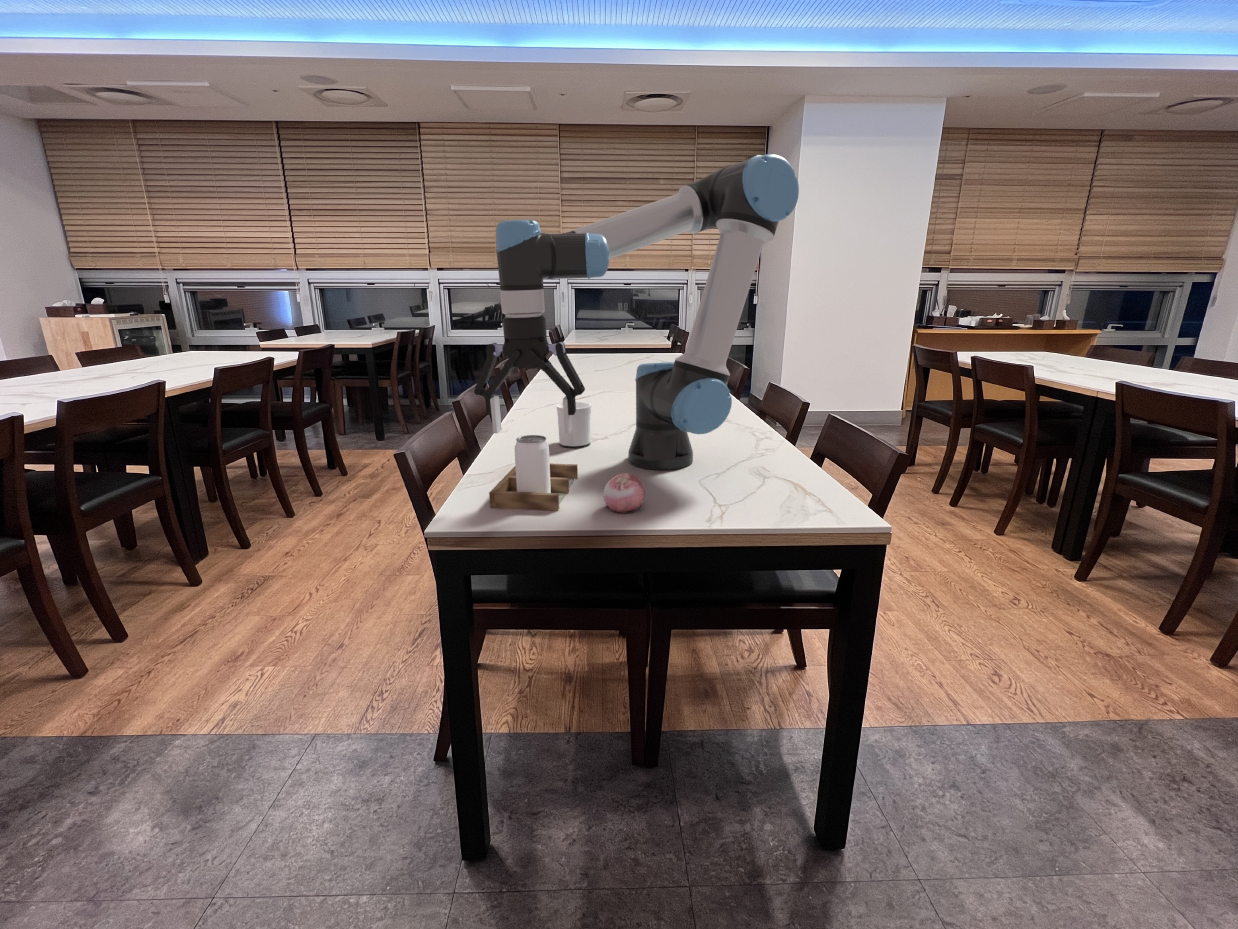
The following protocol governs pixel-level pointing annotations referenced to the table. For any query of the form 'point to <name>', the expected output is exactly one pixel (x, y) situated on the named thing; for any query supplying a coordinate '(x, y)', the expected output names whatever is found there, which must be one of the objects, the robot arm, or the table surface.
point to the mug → (575, 426)
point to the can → (532, 464)
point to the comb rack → (559, 484)
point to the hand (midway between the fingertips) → (532, 431)
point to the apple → (624, 493)
